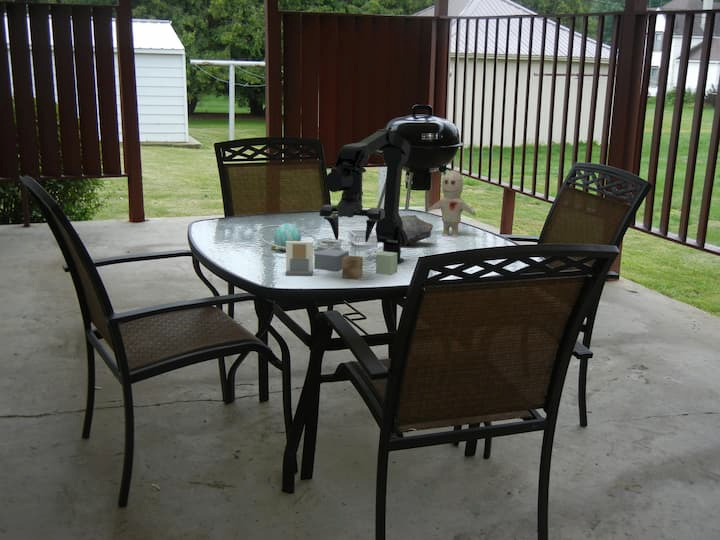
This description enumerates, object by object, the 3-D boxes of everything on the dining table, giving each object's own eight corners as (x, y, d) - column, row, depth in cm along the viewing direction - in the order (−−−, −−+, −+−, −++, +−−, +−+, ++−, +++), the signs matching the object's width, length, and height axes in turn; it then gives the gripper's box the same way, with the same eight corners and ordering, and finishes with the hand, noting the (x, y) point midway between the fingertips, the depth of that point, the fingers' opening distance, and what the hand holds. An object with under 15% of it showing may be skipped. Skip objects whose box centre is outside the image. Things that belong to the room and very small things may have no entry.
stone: (429, 209, 284) (432, 216, 269) (432, 237, 286) (436, 245, 272) (381, 215, 284) (382, 222, 270) (385, 243, 287) (386, 251, 272)
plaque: (313, 271, 238) (312, 240, 235) (312, 275, 233) (312, 243, 230) (287, 271, 238) (286, 239, 235) (285, 275, 233) (285, 243, 230)
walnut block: (342, 278, 231) (342, 259, 229) (346, 274, 235) (346, 255, 234) (358, 279, 230) (358, 260, 228) (362, 275, 234) (362, 256, 233)
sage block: (382, 269, 242) (382, 251, 240) (397, 271, 240) (397, 252, 238) (375, 273, 237) (376, 254, 236) (390, 275, 235) (391, 256, 234)
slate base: (326, 263, 249) (326, 248, 248) (348, 266, 246) (348, 251, 245) (314, 269, 242) (314, 253, 241) (337, 272, 239) (337, 256, 238)
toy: (424, 234, 296) (426, 169, 289) (431, 231, 302) (433, 167, 296) (470, 239, 288) (473, 172, 282) (476, 236, 295) (479, 170, 288)
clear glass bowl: (314, 217, 275) (259, 227, 274) (312, 218, 254) (253, 228, 254) (319, 245, 275) (263, 254, 275) (318, 248, 255) (258, 258, 255)
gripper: (313, 190, 221) (313, 243, 225) (376, 193, 216) (375, 248, 220) (325, 185, 231) (325, 236, 235) (385, 189, 227) (384, 241, 230)
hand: (351, 240), depth 230 cm, fingers open, 9 cm apart
